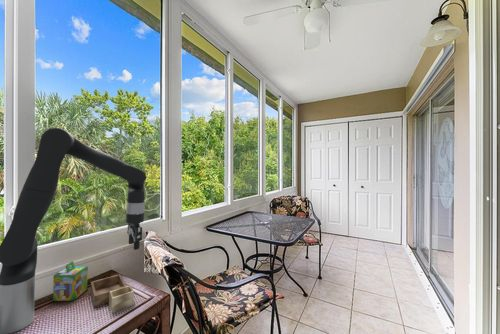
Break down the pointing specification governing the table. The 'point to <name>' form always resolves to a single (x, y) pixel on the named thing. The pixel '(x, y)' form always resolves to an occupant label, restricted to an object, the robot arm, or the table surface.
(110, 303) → the pine crate
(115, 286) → the walnut crate
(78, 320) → the table surface
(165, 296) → the table surface
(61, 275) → the chalk box
